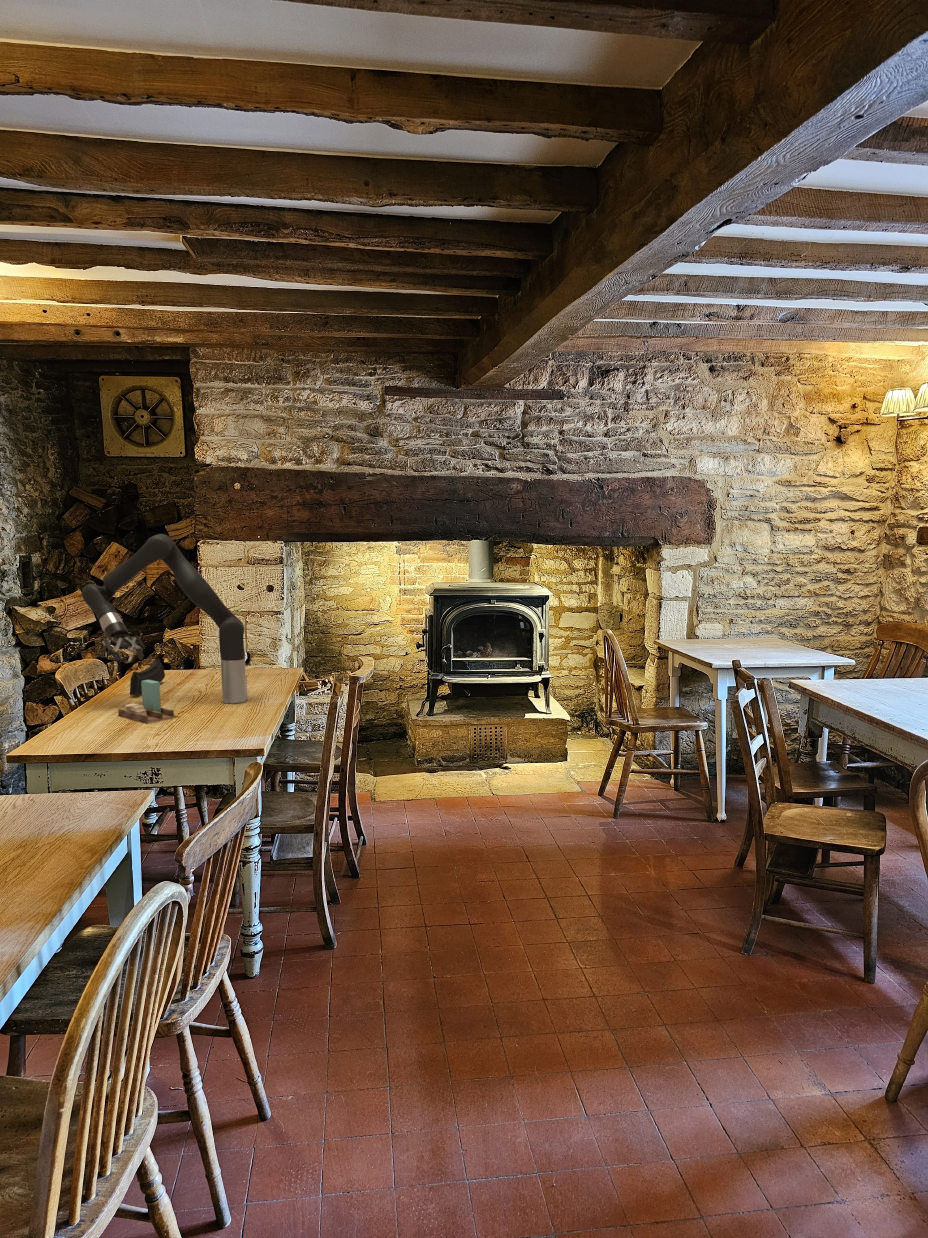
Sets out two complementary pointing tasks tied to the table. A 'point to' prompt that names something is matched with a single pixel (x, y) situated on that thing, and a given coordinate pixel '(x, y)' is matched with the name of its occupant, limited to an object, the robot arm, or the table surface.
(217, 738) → the table surface
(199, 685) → the table surface
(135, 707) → the offcut stack
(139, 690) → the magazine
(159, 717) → the walnut rack
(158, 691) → the teal board
